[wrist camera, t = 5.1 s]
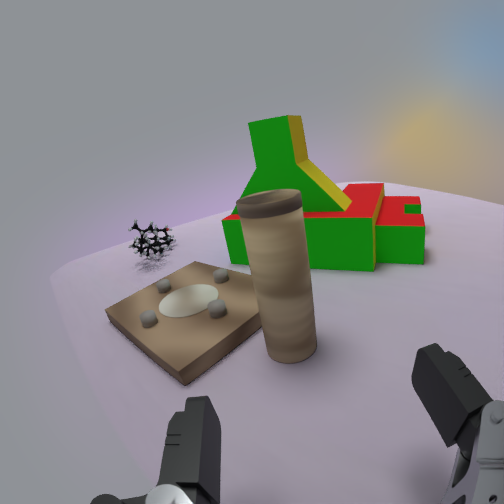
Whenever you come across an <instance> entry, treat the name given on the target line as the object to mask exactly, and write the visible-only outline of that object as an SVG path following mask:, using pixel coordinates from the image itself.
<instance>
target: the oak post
mask: <svg viewBox="0 0 504 504" xmlns="http://www.w3.org/2000/svg"><path fill="white" fill-rule="evenodd" d="M236 205H237V210H238V215H239V216H240V221H241V226H242V231H243V236H244V241H245V245H246V250H247V255H248V260H249V265H250V270H251V275H252V280H253V285H254V289H255V294H256V299H257V304H258V309H259V314H260V318H261V323H262V328H263V333H264V338H265V342H266V347H267V352H268V354H269V356H270V357H271V358H272V359H273V360H275V361H278V362H281V363H296V362H300V361H303V360H305V359H307V358H308V357H310V356H311V355H312V354H313V353H314V352H315V350H316V347H317V340H316V328H315V316H314V304H313V294H312V284H311V274H310V265H309V256H308V248H307V240H306V232H305V224H304V217H303V209H302V205H303V204H302V197H301V191H300V190H296V189H277V190H269V191H263V192H259V193H254V194H251V195H248V196H245V197H242V198H240V199H239V200H237V202H236Z"/></svg>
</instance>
